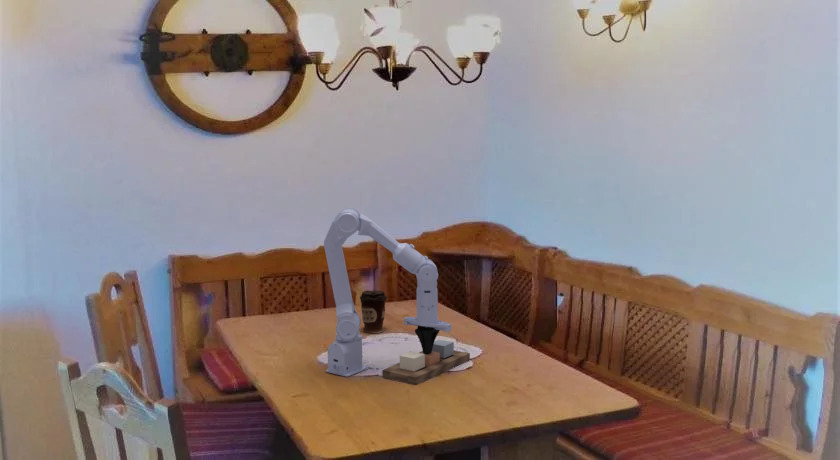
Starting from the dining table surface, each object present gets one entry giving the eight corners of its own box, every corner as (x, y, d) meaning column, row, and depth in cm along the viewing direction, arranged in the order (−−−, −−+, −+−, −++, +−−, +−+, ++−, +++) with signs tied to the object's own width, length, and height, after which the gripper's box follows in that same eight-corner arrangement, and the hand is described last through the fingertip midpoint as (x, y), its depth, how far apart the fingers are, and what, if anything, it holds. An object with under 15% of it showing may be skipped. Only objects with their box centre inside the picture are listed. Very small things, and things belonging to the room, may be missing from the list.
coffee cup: (374, 336, 253) (373, 295, 251) (354, 332, 258) (354, 292, 256) (391, 330, 260) (391, 291, 258) (372, 326, 265) (371, 288, 263)
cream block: (414, 371, 211) (414, 358, 210) (399, 368, 213) (399, 355, 213) (424, 366, 215) (424, 354, 214) (410, 363, 217) (410, 351, 217)
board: (415, 385, 206) (415, 377, 206) (382, 377, 213) (382, 370, 212) (469, 360, 227) (469, 353, 227) (437, 353, 234) (437, 347, 233)
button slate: (444, 358, 222) (444, 346, 221) (429, 355, 225) (429, 343, 224) (453, 354, 226) (453, 342, 225) (439, 351, 229) (439, 339, 228)
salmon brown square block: (429, 369, 216) (429, 356, 216) (415, 366, 219) (415, 353, 219) (439, 364, 220) (439, 352, 220) (425, 361, 223) (425, 349, 223)
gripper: (457, 305, 216) (457, 354, 218) (414, 299, 225) (414, 345, 227) (442, 310, 211) (443, 360, 213) (399, 303, 219) (399, 351, 221)
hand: (427, 353), depth 219 cm, fingers closed, pressing on salmon brown square block
